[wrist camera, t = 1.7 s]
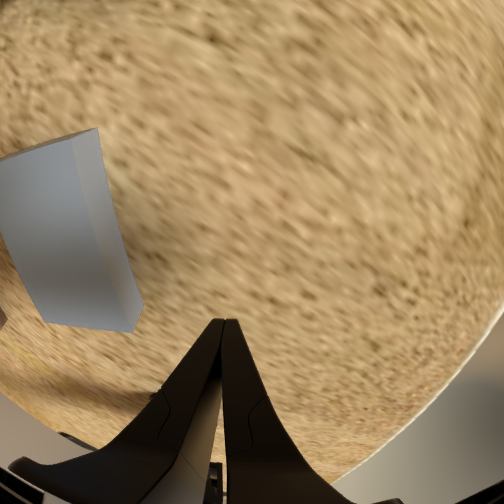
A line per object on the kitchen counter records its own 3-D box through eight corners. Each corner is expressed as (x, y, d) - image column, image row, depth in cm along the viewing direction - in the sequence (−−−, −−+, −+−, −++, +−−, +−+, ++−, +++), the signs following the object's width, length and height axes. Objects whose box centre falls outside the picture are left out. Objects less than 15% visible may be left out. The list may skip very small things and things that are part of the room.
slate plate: (145, 301, 19) (132, 332, 17) (61, 296, 20) (44, 322, 17) (101, 125, 13) (70, 138, 10) (10, 153, 13) (-20, 170, 10)
